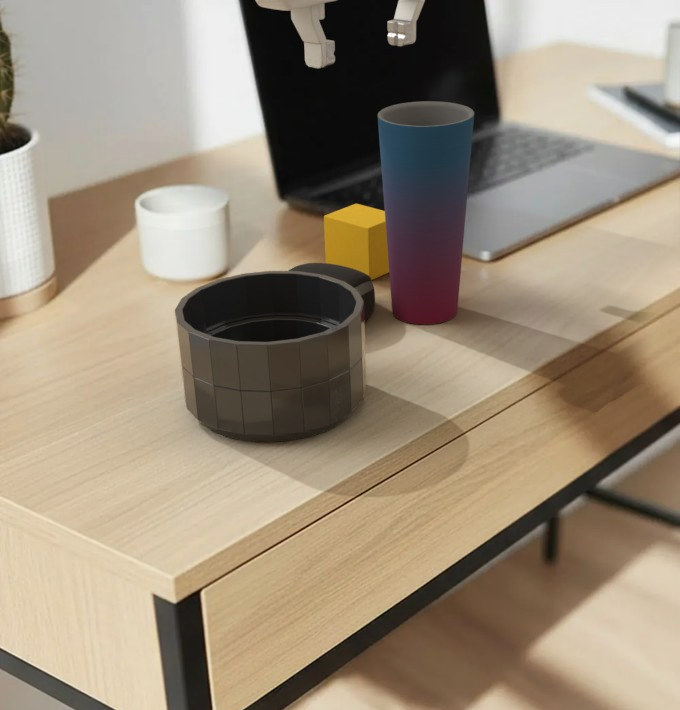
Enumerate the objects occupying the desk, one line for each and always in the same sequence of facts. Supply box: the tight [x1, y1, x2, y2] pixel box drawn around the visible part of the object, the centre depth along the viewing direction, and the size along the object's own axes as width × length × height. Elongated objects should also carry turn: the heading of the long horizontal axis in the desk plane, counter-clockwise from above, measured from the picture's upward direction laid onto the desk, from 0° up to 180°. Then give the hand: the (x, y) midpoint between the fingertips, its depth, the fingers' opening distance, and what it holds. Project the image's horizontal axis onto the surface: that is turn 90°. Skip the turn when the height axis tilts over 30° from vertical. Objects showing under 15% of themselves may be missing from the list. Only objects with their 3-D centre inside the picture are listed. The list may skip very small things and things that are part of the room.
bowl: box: [174, 270, 367, 443], centre depth 79 cm, size 12×12×7 cm
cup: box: [377, 100, 475, 325], centre depth 89 cm, size 7×7×15 cm
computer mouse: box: [287, 262, 376, 322], centre depth 90 cm, size 7×12×4 cm, turn 149°
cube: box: [323, 203, 389, 281], centre depth 100 cm, size 5×4×4 cm
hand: (362, 54), depth 93 cm, fingers open, 8 cm apart
